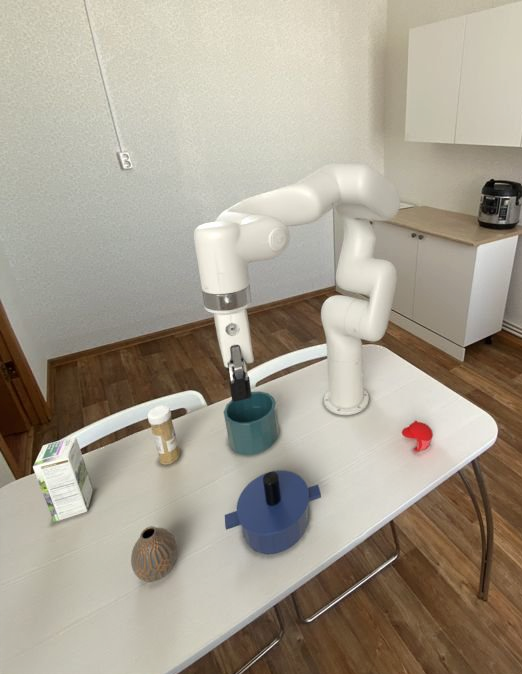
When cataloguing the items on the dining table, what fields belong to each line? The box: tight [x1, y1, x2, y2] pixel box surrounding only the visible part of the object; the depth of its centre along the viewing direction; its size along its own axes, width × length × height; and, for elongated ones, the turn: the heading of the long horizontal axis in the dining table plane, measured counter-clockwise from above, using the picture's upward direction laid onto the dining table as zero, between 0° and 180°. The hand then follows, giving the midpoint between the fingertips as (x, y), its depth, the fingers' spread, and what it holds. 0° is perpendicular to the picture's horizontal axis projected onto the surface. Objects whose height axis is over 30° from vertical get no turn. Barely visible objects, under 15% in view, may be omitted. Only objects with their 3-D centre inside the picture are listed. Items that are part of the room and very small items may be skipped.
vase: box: [130, 525, 178, 583], centre depth 65 cm, size 7×7×9 cm
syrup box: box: [32, 437, 94, 523], centre depth 76 cm, size 6×6×14 cm
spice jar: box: [147, 404, 181, 466], centre depth 87 cm, size 5×5×14 cm
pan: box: [224, 484, 322, 555], centre depth 73 cm, size 12×18×5 cm
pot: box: [223, 391, 280, 456], centre depth 94 cm, size 12×12×9 cm
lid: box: [236, 470, 310, 536], centre depth 71 cm, size 13×13×7 cm
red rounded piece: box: [401, 420, 434, 453], centre depth 91 cm, size 8×6×6 cm
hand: (239, 383), depth 70 cm, fingers open, 9 cm apart
